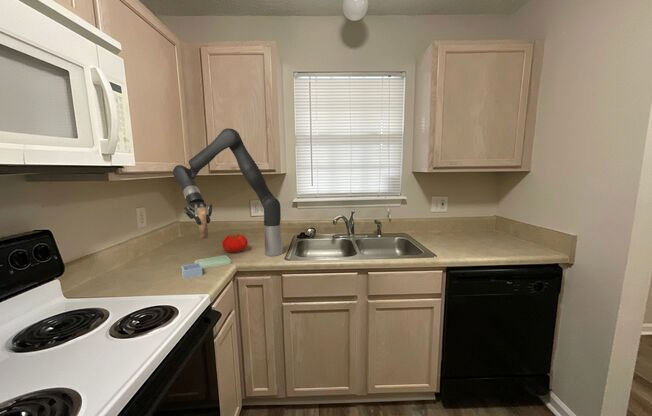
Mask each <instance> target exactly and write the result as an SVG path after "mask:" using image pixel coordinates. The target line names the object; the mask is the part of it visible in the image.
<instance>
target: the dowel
mask: <svg viewBox="0 0 652 416" xmlns="http://www.w3.org/2000/svg"><path fill="white" fill-rule="evenodd" d="M197 210H198V216H199V218H200V221H201V224H200V225H198V228H199V229H198V231H199V239H200V240H205V239H209V232H208V224H207V219H206V210H207V208H205V207H200V208H197Z"/></svg>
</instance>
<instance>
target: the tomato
mask: <svg viewBox="0 0 652 416" xmlns="http://www.w3.org/2000/svg"><path fill="white" fill-rule="evenodd" d="M221 243H222V245H221V246H222V249H223V250H224V251H226V252H227V253H233V254H235V253H238V252H243V251H244V250H245V249H247V246H248V243H249V242H248V238H246V236H244V235H243V234H240V233H236V234H233V235H232V234H230V235H227V236H226V237H225V238H223V240H222V242H221Z"/></svg>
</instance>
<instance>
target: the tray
mask: <svg viewBox="0 0 652 416" xmlns="http://www.w3.org/2000/svg"><path fill="white" fill-rule="evenodd" d="M193 262H194V263H193V264H195V263H200V264H201V266H202V270H203V269H204V270H205V269H210V268H214V267H220V266H225V265H230V264H232V259H230V257H228V256H227V254H224V255H218V256H217V255H216V256H211V257H206V258H200V259H195V260H193Z"/></svg>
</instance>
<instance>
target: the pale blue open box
mask: <svg viewBox="0 0 652 416" xmlns="http://www.w3.org/2000/svg"><path fill="white" fill-rule="evenodd" d="M180 267H181V274H182V278H183V280H185V279H189V278H190V279H191V278H195V277H199V276H200V277H201V276H203V272H204V271H203V269H202V266H201V264H200V263H191V264H184V265H181V266H180Z"/></svg>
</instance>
